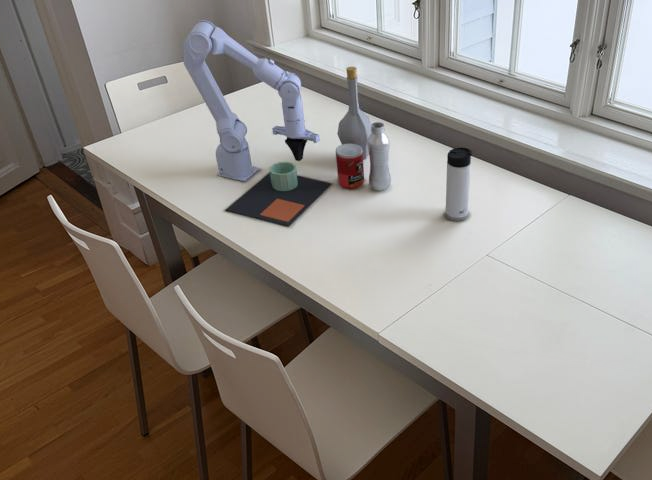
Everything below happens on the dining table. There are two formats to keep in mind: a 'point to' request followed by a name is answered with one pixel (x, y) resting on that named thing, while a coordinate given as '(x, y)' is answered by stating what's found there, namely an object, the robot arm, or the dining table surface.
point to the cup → (283, 176)
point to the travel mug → (458, 183)
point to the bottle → (354, 118)
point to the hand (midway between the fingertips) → (299, 159)
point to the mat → (278, 200)
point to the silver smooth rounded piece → (378, 157)
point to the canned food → (350, 166)
